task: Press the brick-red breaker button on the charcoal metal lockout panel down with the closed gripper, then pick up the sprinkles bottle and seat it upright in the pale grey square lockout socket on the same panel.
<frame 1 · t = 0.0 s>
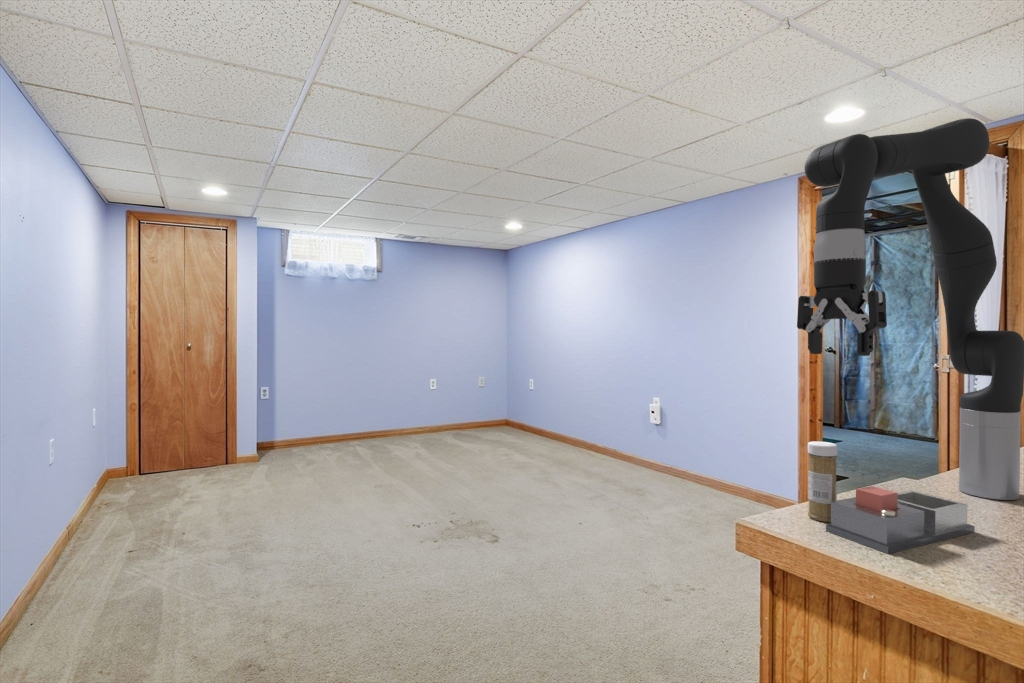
hand: (838, 354, 91), 29 cm above the worktop, tool pointing down, fingers open, 8 cm apart
breaker button: (876, 506, 86), point 5 cm above the worktop, slide at 0.0 cm
lockout panel: (899, 531, 89), on the worktop
sprinkles bottle: (821, 519, 95), on the worktop
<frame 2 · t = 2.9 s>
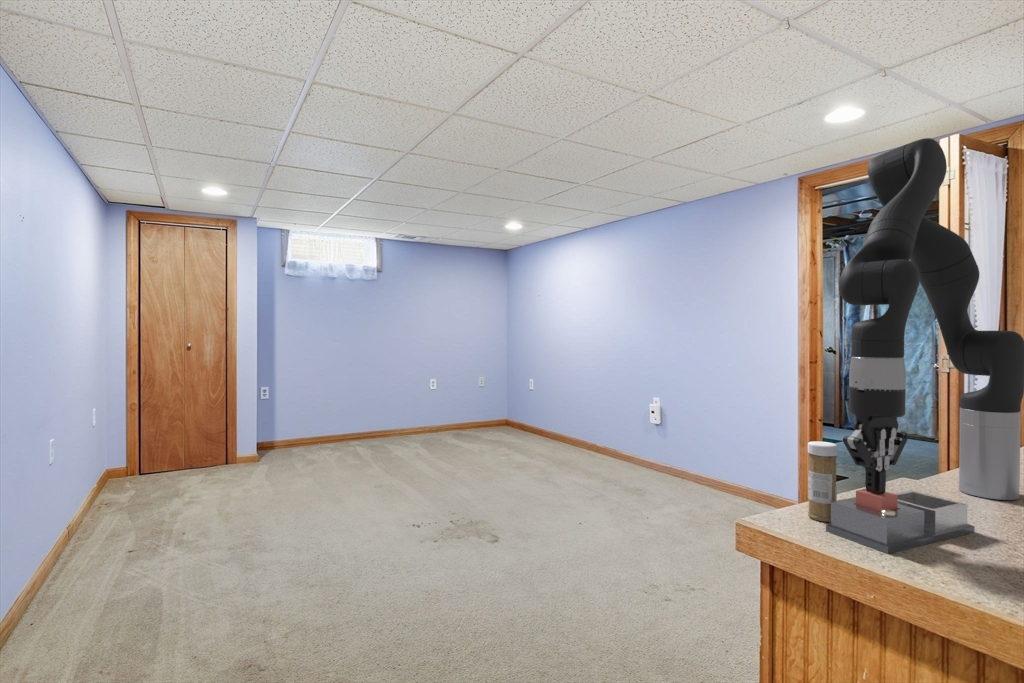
hand: (875, 492, 86), 7 cm above the worktop, tool pointing down, fingers closed
breaker button: (876, 507, 86), point 5 cm above the worktop, slide at 0.3 cm, touching gripper
everything else where it was.
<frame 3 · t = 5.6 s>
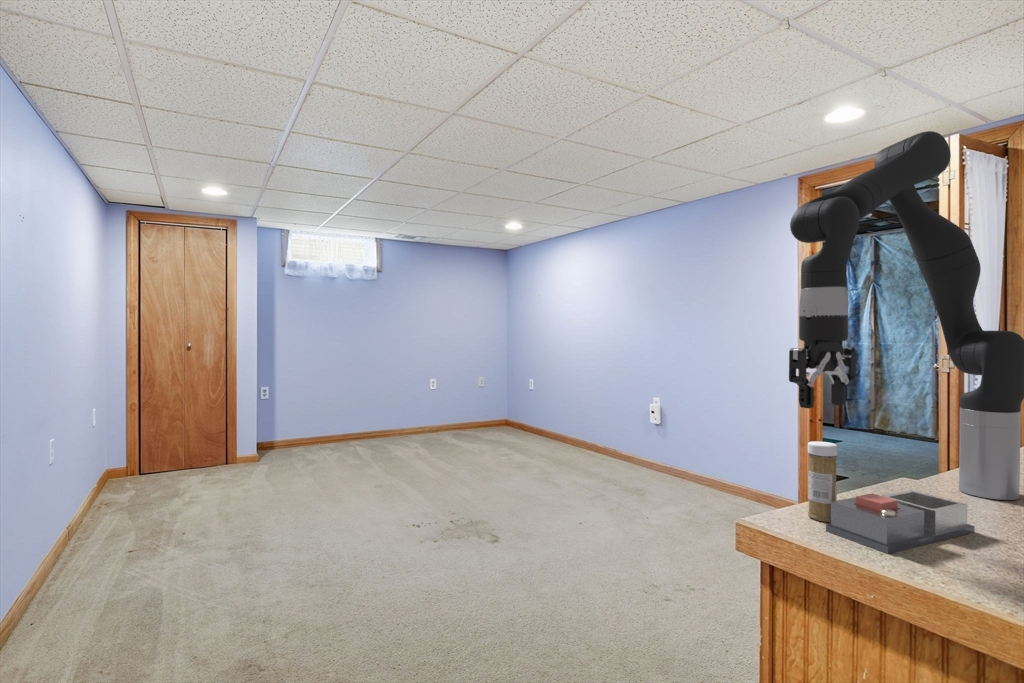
hand: (822, 406, 95), 20 cm above the worktop, tool pointing down, fingers open, 7 cm apart
breaker button: (876, 513, 86), point 4 cm above the worktop, slide at 1.2 cm
everything else where it was.
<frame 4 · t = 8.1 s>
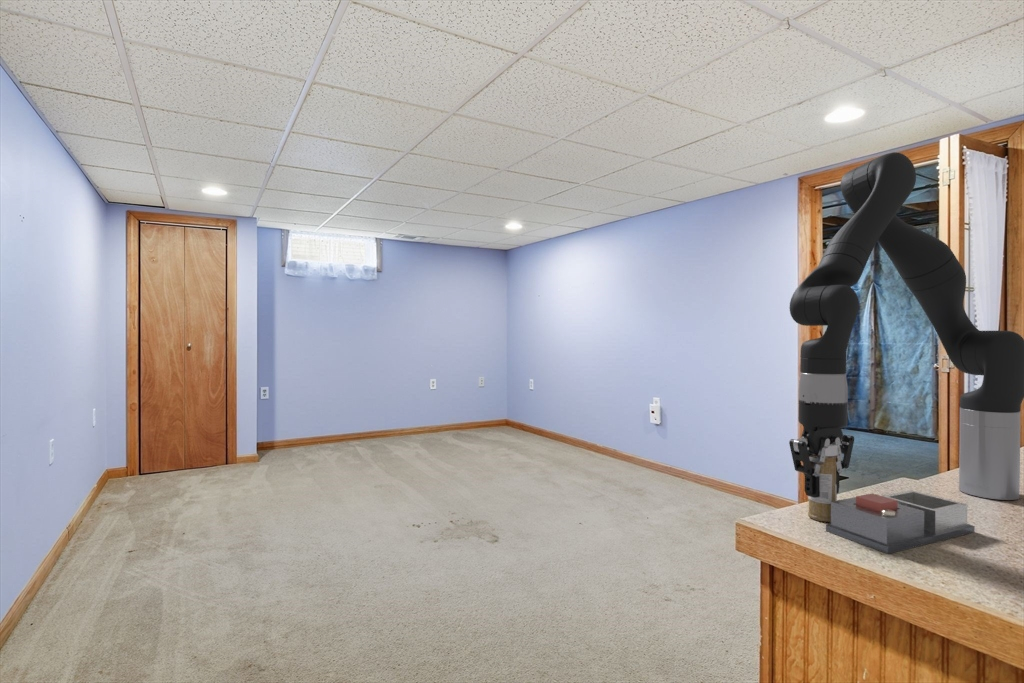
hand: (821, 494, 95), 4 cm above the worktop, tool pointing down, fingers closed on sprinkles bottle, 4 cm apart
sprinkles bottle: (821, 519, 95), on the worktop, touching gripper
everything else where it was.
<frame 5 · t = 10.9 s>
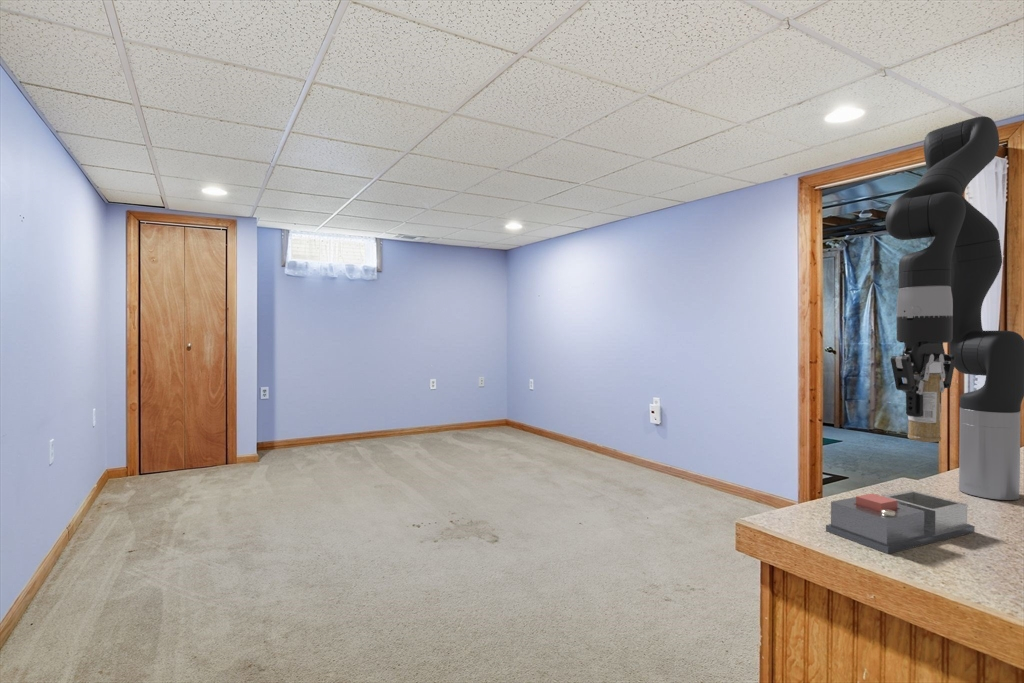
hand: (923, 414, 91), 19 cm above the worktop, tool pointing down, fingers closed on sprinkles bottle, 4 cm apart
sprinkles bottle: (923, 441, 91), point 15 cm above the worktop, touching gripper
everything else where it was.
when the fingers open (7 cm above the worktop, at t = 14.0 s): sprinkles bottle drops 1 cm, resting on lockout panel.
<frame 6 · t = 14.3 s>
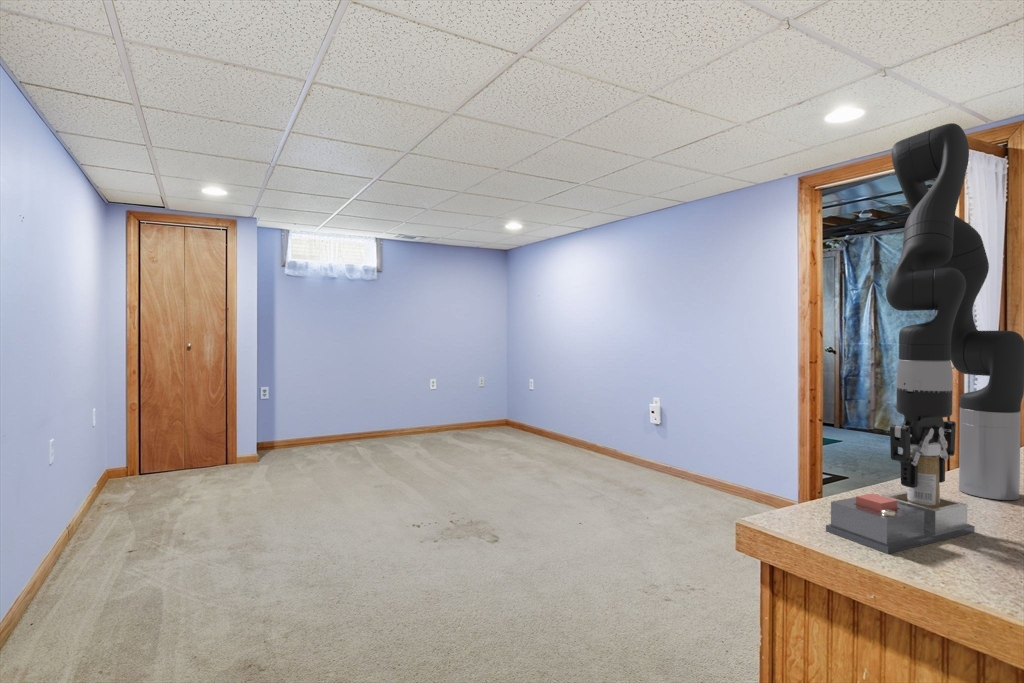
hand: (922, 483, 91), 7 cm above the worktop, tool pointing down, fingers open, 7 cm apart
sprinkles bottle: (922, 521, 91), point 1 cm above the worktop, touching lockout panel
everything else where it was.
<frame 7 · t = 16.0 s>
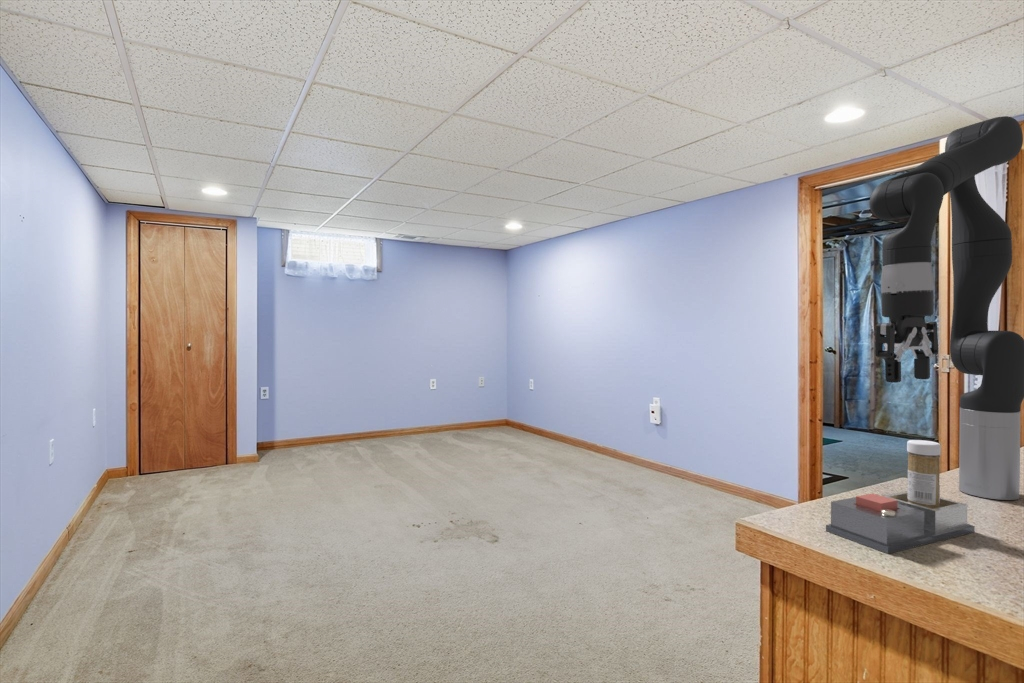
hand: (907, 380, 96), 24 cm above the worktop, tool pointing down, fingers open, 8 cm apart
nothing on the worktop moved.
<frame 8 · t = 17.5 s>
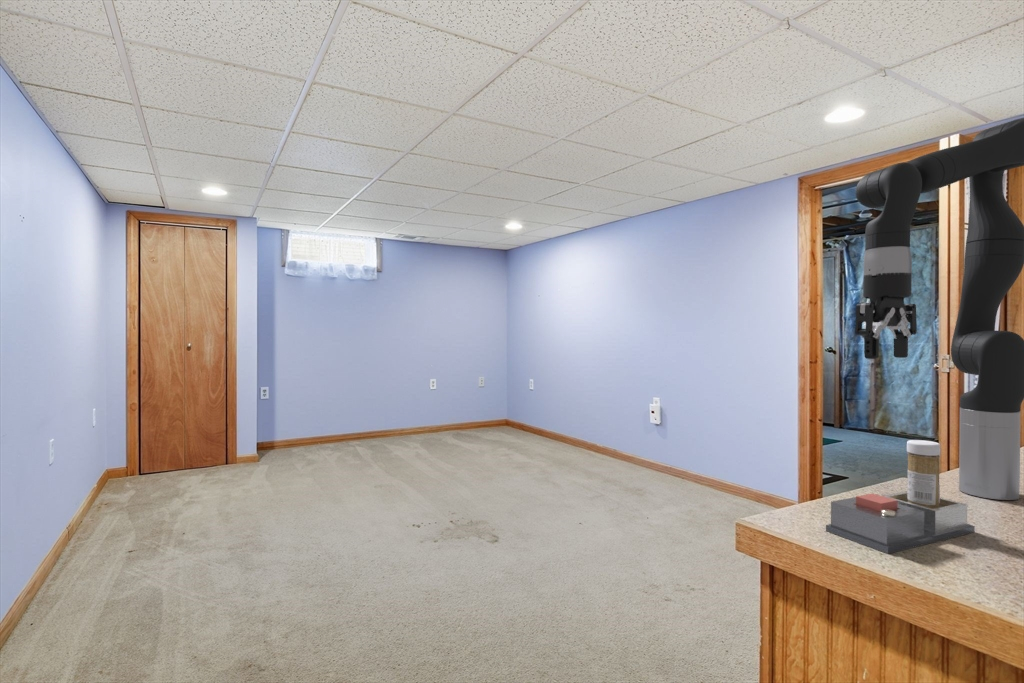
hand: (886, 358, 102), 28 cm above the worktop, tool pointing down, fingers open, 8 cm apart
nothing on the worktop moved.
at the end: breaker button slide at 1.2 cm; sprinkles bottle 0.1 cm from the target spot on the lockout panel, point 0.8 cm above the lockout panel's base; sprinkles bottle tilted 0° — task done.
